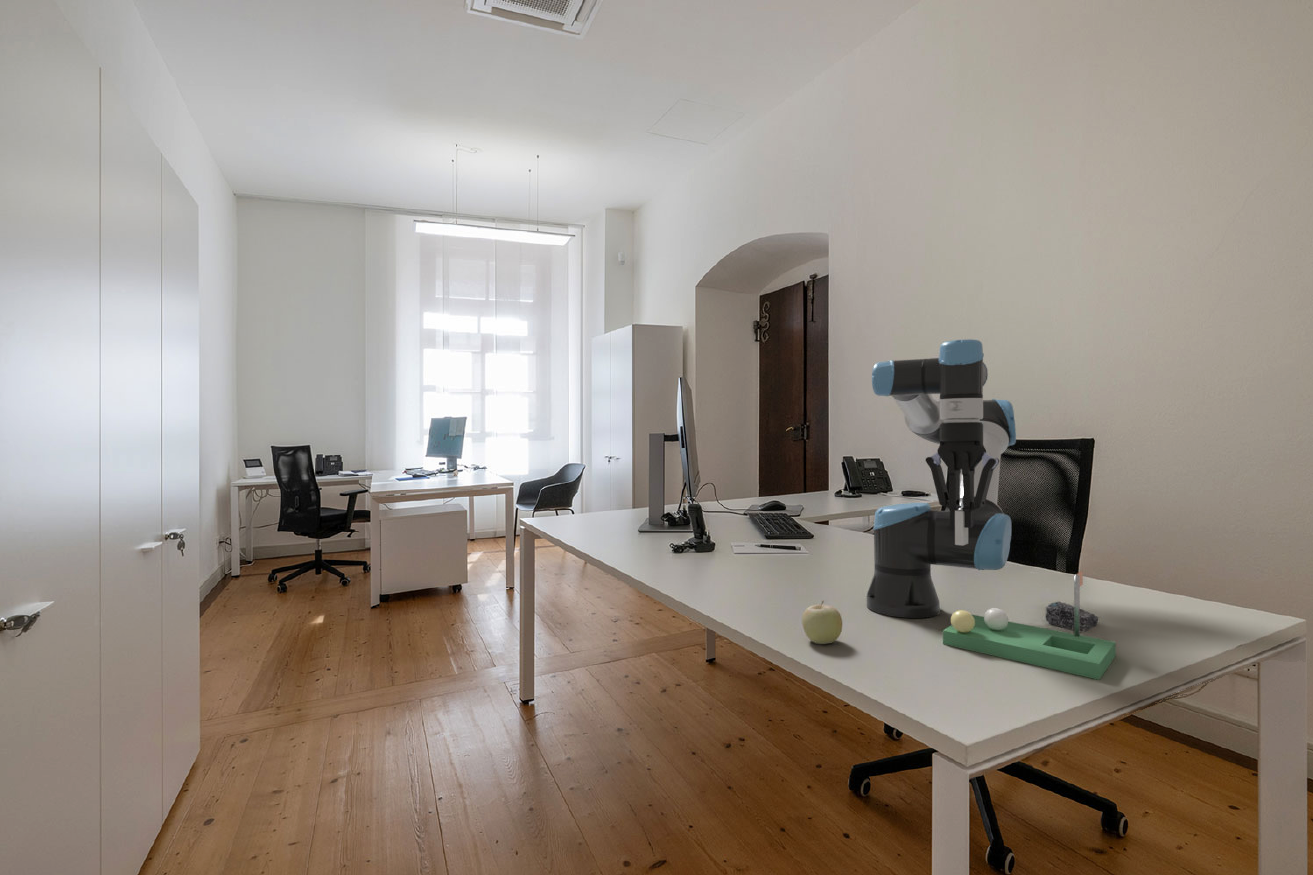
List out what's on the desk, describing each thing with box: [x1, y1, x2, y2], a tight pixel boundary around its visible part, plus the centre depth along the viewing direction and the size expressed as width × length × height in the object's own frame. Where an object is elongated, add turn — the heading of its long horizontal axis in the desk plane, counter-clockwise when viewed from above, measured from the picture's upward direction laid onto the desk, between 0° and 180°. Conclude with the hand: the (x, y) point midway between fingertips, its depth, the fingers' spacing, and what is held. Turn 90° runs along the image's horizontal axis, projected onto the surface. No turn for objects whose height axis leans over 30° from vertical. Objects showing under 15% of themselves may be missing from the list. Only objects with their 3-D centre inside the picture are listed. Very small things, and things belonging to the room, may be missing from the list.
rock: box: [1045, 601, 1099, 632], centre depth 127 cm, size 8×10×4 cm
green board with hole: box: [942, 613, 1117, 681], centre depth 112 cm, size 24×14×2 cm, turn 45°
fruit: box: [801, 600, 843, 645], centre depth 118 cm, size 8×7×8 cm
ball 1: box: [950, 609, 975, 633], centre depth 114 cm, size 4×4×4 cm
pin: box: [1073, 570, 1084, 637], centre depth 113 cm, size 1×4×11 cm, turn 135°
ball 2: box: [983, 607, 1009, 630], centre depth 115 cm, size 4×4×4 cm
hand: (961, 543), depth 119 cm, fingers closed
